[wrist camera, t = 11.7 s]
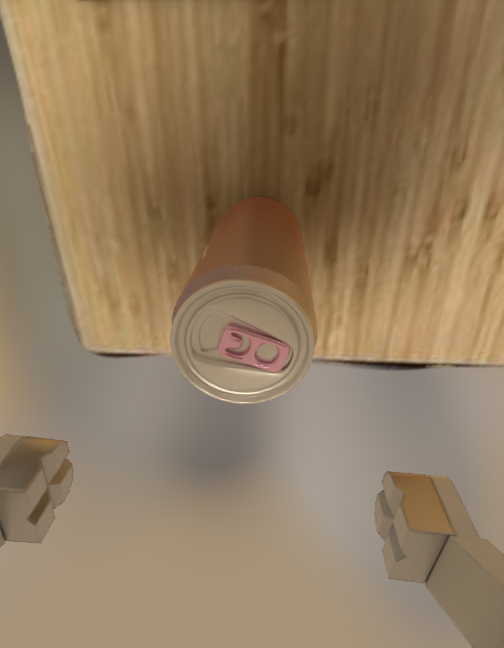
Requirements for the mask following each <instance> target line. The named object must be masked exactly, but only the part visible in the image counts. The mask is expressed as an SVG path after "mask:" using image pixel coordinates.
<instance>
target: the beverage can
mask: <svg viewBox="0 0 504 648" xmlns="http://www.w3.org/2000/svg"><path fill="white" fill-rule="evenodd" d="M316 340H317V321H316V316H315V310H314V305H313V299H312V293H311V288H310V282H309V277H308V271H307V265H306V260H305V254H304V249H303V243H302V237H301V232H300V228H299V224H298V222H297V220H296V218H295V216H294V215H293V214H292V212H291V211H290V210H289V209H288V208H287V207H286V206H284V205H283V204H282V203H280V202H278V201H276V200H274V199H271V198H267V197H250V198H246V199H243V200H241V201H239V202H237V203H235V204H234V205H232V206H231V207H230V208H229V209H228V210H227V211H226V212H225V213H224V215H223V216H222V218H221V220H220V222H219V224H218V226H217V227H216V229H215V231H214V233H213V235H212V237H211V239H210V241H209V242H208V244H207V246H206V248H205V250H204V252H203V254H202V256H201V258H200V259H199V261H198V263H197V265H196V267H195V269H194V271H193V273H192V275H191V276H190V278H189V280H188V282H187V284H186V286H185V288H184V290H183V291H182V293H181V295H180V297H179V299H178V301H177V303H176V306H175V308H174V312H173V317H172V328H171V334H170V343H171V350H172V354H173V357H174V360H175V362H176V364H177V366H178V368H179V370H180V371H181V373H182V374H183V375H184V376H185V377H186V379H187V380H188V381H189V382H190V383H191V384H192V385H193V386H195V387H196V388H197V389H199V390H200V391H202V392H203V393H205V394H207V395H209V396H211V397H214V398H216V399H219V400H222V401H225V402H230V403H237V404H254V403H262V402H266V401H269V400H273V399H275V398H278V397H280V396H282V395H283V394H285V393H287V392H288V391H290V390H291V389H292V388H294V387H295V386H296V385H297V384H298V383H299V382H300V381H301V380H302V378H303V377H304V376H305V374H306V373H307V371H308V369H309V367H310V365H311V362H312V359H313V355H314V348H315V344H316Z"/></svg>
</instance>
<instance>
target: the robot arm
mask: <svg viewBox="0 0 504 648" xmlns="http://www.w3.org/2000/svg"><path fill="white" fill-rule="evenodd" d="M68 453H69V447H68V444H67V442H65V441H62V440H54V439H46V438H37V437H29V436H18V435H10V434H6V435H4V436H2V437H0V547H1V546H2V545H4V544H5V541H14V542H28V543H41V542H42V541H43V539H44V537H45V535H46V533H47V531H48V530H49V528H50V526H51V525H52V523H53V521H54V519H55V515H54V510H53V509H55V508H56V507H57V506H59V505H60V504H62V503H63V502H64V501H65V499H66V497H67V495H68V493H69V491H70V488H71V485H72V481H73V466H72V463H71V462H69V460H67V459H66V456H67V455H68ZM382 484H383V488H384V490H383V491H381V492H380V493H378V495H377V499H376V502H375V522H376V527H377V531H378V534H379V535H380V536H381V537H382V538H383V539H384V540H385V544H384V547H383V550H382V552H383V556H384V560H385V564H386V568H387V572H388V576H389V579H395V580H403V581H410V582H418V583H426V584H425V586H426V587H427V589H428V590H429V591H430V593H431V594H432V595H433V596H434V598H435V599H436V600H437V602H438V603H439V604H440V606H441V607H442V608H443V610H444V611H445V612H446V614H447V615H448V616H449V618H450V619H451V620H452V621H453V623H454V624H455V625H456V627H457V628H458V629H459V630H460V632H461V633H462V635H463V636H464V637H465V639H466V640H467V641H468V642H469V644H470V645H471V646H472V648H504V554H503V553H502V552H501V551H499V550H498V549H497V548H496V547H495V546H494V545H493V544H491V543H490V542H489V541H488V540H487V539H482V538H480V537H479V535H478V533H477V531H476V529H475V527H474V525H473V523H472V521H471V519H470V517H469V514H468V513H467V510H466V508H465V506H464V504H463V502H462V500H461V498H460V496H459V494H458V492H457V490H456V488H455V486H454V484H453V482H452V480H451V479H450V478H449V477H443V476H432V475H422V474H411V473H399V472H386V473H385V475H384V477H383V480H382Z"/></svg>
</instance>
